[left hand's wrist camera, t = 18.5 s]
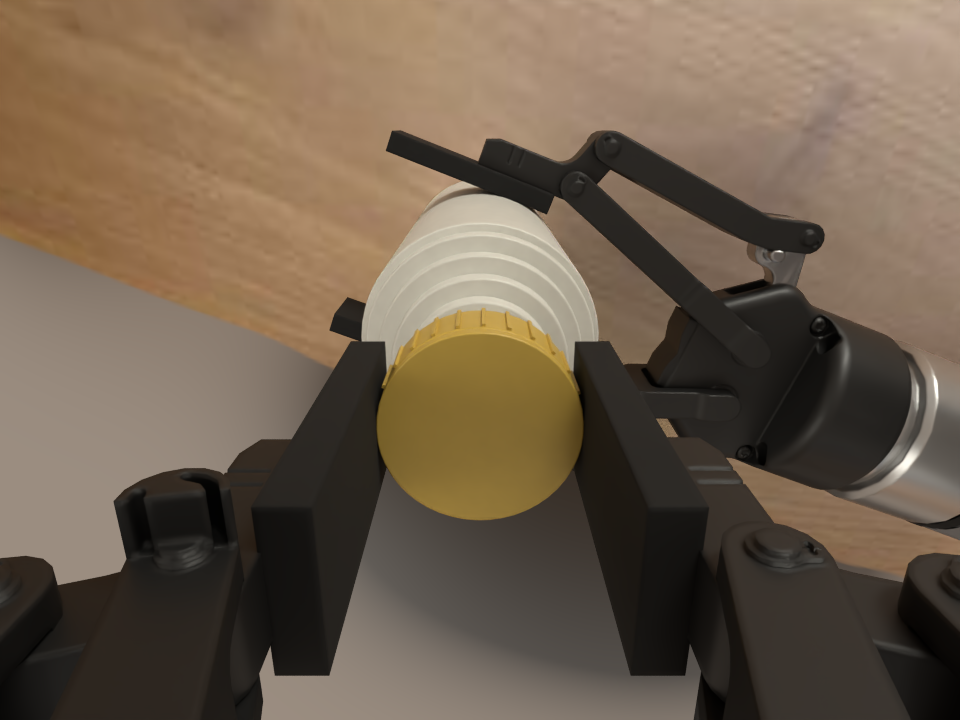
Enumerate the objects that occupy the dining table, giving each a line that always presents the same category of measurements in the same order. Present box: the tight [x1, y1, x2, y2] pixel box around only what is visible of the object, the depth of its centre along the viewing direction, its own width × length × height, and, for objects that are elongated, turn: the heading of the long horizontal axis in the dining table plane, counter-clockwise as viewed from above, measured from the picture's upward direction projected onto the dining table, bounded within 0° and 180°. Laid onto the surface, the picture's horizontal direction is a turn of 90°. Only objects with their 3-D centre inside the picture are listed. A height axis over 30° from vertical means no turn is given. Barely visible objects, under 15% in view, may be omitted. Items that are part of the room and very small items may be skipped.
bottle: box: [362, 181, 599, 371], centre depth 23 cm, size 7×7×20 cm
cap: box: [376, 308, 584, 520], centre depth 14 cm, size 4×4×2 cm
